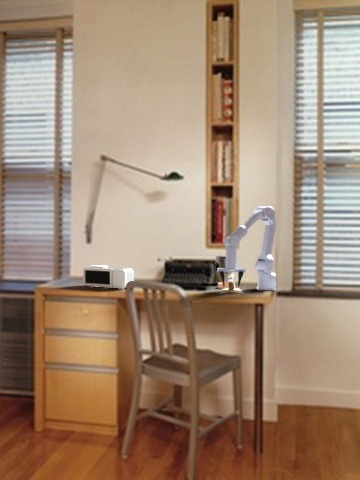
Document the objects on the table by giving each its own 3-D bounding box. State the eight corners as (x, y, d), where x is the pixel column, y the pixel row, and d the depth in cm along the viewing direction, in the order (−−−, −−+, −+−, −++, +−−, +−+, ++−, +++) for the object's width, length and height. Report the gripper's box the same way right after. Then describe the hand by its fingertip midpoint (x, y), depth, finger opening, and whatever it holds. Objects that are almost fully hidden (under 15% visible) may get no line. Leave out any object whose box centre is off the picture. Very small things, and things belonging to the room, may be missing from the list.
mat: (241, 290, 282) (241, 289, 282) (242, 293, 271) (242, 292, 271) (220, 290, 282) (220, 289, 282) (221, 293, 271) (221, 292, 271)
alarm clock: (82, 287, 296) (82, 266, 295) (92, 285, 304) (92, 264, 303) (125, 290, 284) (125, 268, 283) (134, 288, 292) (134, 266, 292)
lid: (240, 289, 281) (240, 280, 281) (241, 292, 271) (241, 283, 271) (221, 289, 282) (221, 280, 281) (222, 292, 272) (222, 283, 271)
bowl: (234, 287, 293) (234, 281, 293) (235, 289, 284) (235, 284, 284) (217, 287, 293) (217, 281, 293) (218, 289, 284) (218, 284, 284)
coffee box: (234, 284, 307) (234, 255, 306) (227, 285, 302) (227, 256, 301) (222, 282, 313) (222, 255, 312) (215, 283, 308) (215, 255, 307)
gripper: (245, 259, 279) (244, 285, 280) (217, 259, 280) (217, 284, 281) (246, 260, 272) (245, 287, 273) (217, 260, 273) (217, 286, 273)
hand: (231, 286), depth 276 cm, fingers open, 7 cm apart
